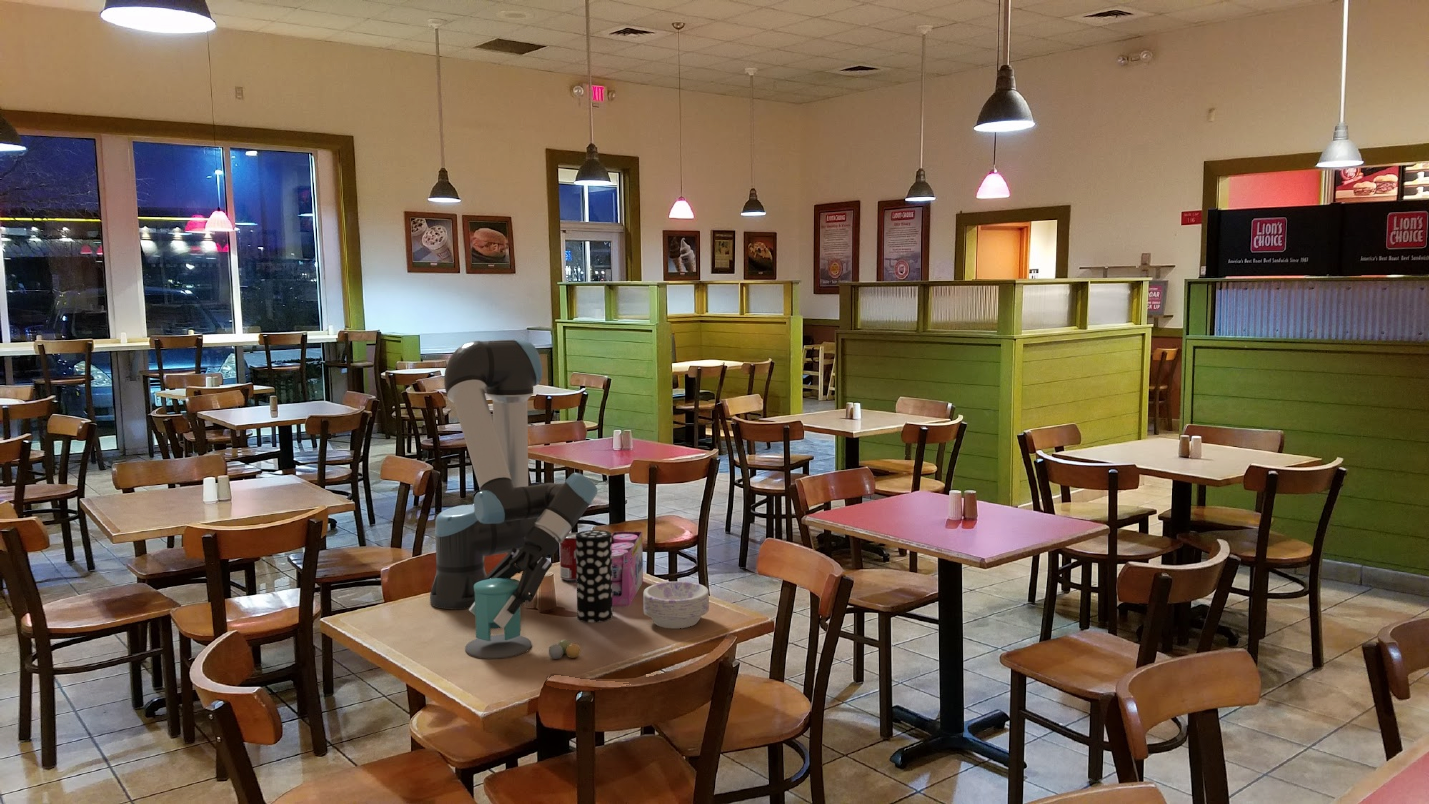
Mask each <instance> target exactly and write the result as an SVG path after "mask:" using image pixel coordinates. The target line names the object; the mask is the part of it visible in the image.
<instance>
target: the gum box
mask: <svg viewBox="0 0 1429 804" xmlns="http://www.w3.org/2000/svg"><path fill="white" fill-rule="evenodd" d="M611 537H612V606H617V607H618V606H621V607H622V606H624V607H626V606H627V607H629V606H630V605H631V603H632V602H633V600H634V598H635V597H636V595H637V593H638V592H639V590H640V588H641V587H642V584H643V582H644V564H643V562H644V561H643V560H644V558H643V557H644V556H643V555H644V553H643V548H644V547H643V531H618V530H617V531H614V532H612V533H611Z"/></svg>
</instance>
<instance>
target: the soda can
mask: <svg viewBox="0 0 1429 804" xmlns="http://www.w3.org/2000/svg"><path fill="white" fill-rule="evenodd" d="M577 533H578V532H569V534H568V535H567V537H566V538H565V539H564V541H563V542H562V543H559V557H560V558H559V566H560V567H559V568H560V571H559V572H560V573H559V574H560V578H561V579H562V580H564V581H565V582H577V574H576V534H577Z"/></svg>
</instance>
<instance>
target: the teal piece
mask: <svg viewBox="0 0 1429 804" xmlns="http://www.w3.org/2000/svg"><path fill="white" fill-rule="evenodd" d="M519 582H520V579H519V580H518V579H515V578H512V577H511V578H494V579H491V578H490V579H487V580H482V581H479V582H477V583H475V584H474V591H475V615H474V617H475V618H474V619H475V638H476V639H482V640H485V641H491V630H492V629H493V630H494V629H502V628H501V627H500V626H499V625H497V624H496V623H495V622H494V621H493V620H494V619H495V618H496V616H497V615H498V614H499V612H500V611H501V609H502V608H503V607H504V605H505V604H506V602H507V601H508V600H509V598H510V597H511V596H512V595H513V593H514V592H516V591H517V588H518V585H519ZM513 596H514V595H513ZM514 597H515V598H516V596H514ZM521 618H522V617H521V606H520V607H519V608H518V610H517V611H516V613H515V614H513V616H512V617H511V619H510V620H509V621H508V623H507V624H506V626H505V627H504V628H503V629H504V631H503V632H504V636H505V640H509V639H512V638H515V637H517V636H521V630H522V627H521V626H522V625H521V621H522V619H521Z"/></svg>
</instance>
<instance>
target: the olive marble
mask: <svg viewBox="0 0 1429 804" xmlns="http://www.w3.org/2000/svg"><path fill="white" fill-rule="evenodd" d="M570 644H572V643H571V641H569V640H567V639H561V640H560V641H558V643H557V645H560V646H561V647H562V649H563V654H562V655H567V654H566V648H567V646H568V645H570Z"/></svg>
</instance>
